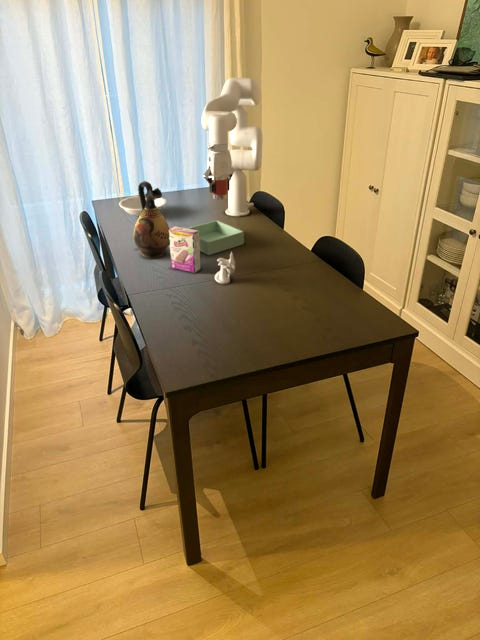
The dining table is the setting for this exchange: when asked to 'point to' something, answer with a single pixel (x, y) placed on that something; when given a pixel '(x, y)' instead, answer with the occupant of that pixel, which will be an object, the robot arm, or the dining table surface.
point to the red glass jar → (221, 188)
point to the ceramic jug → (150, 224)
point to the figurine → (225, 270)
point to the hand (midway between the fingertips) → (219, 190)
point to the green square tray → (218, 237)
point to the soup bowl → (139, 205)
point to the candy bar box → (184, 249)
